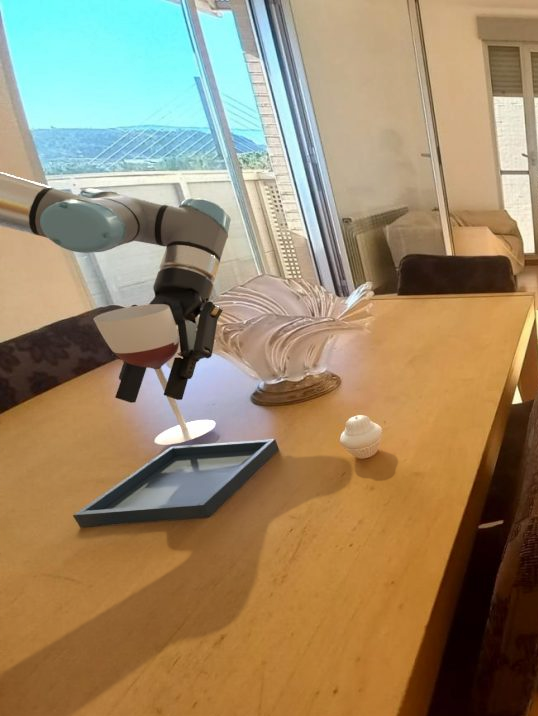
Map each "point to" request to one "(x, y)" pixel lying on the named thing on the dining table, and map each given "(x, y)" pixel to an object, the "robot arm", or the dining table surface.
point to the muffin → (361, 437)
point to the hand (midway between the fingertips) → (149, 398)
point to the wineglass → (150, 354)
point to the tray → (179, 484)
